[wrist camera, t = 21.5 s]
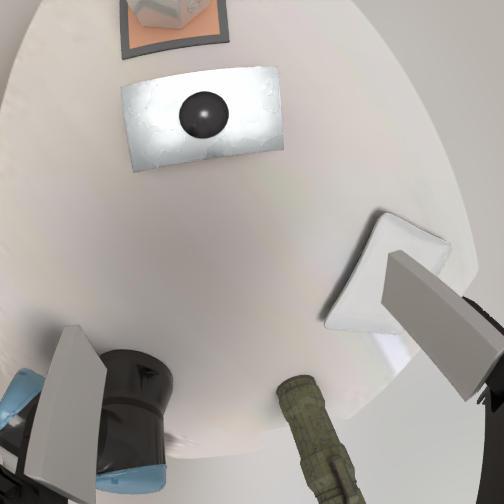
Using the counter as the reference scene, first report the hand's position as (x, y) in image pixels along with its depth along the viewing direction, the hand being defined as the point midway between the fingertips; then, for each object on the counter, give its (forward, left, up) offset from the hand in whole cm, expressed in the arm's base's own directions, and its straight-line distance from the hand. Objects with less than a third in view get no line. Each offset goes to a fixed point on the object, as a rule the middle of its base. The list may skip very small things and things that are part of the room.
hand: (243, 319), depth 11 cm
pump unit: (0, +7, -25) cm, 26 cm away
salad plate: (+28, -21, -25) cm, 43 cm away
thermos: (+11, -46, -25) cm, 53 cm away
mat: (-2, +22, -25) cm, 33 cm away
